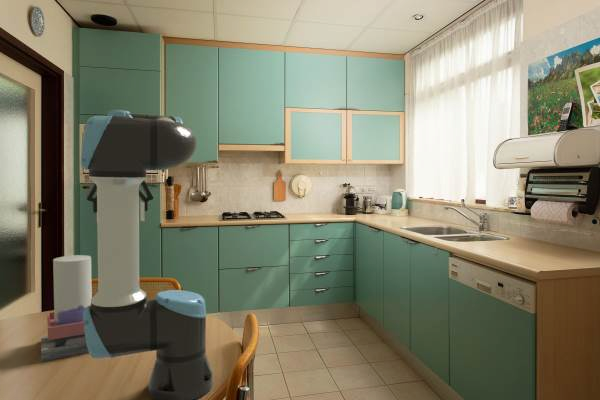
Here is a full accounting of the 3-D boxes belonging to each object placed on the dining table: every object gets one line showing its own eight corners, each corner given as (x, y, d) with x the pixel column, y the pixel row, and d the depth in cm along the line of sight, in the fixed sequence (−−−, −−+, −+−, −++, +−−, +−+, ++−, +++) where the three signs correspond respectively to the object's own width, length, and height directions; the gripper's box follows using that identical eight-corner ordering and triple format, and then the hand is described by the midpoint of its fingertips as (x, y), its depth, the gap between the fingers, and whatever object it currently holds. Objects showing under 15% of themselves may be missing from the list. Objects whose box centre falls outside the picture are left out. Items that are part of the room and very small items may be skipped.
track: (163, 338, 129) (163, 331, 129) (41, 362, 111) (41, 354, 111) (151, 322, 143) (151, 316, 143) (41, 341, 125) (41, 334, 125)
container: (83, 314, 129) (82, 253, 128) (98, 321, 123) (97, 257, 122) (49, 323, 121) (47, 257, 120) (62, 331, 115) (61, 262, 114)
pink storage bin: (107, 339, 121) (107, 318, 120) (48, 350, 112) (47, 328, 112) (101, 324, 133) (101, 305, 133) (47, 333, 125) (47, 312, 125)
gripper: (156, 160, 143) (156, 219, 144) (76, 156, 129) (77, 222, 130) (162, 159, 136) (162, 221, 137) (78, 155, 123) (79, 224, 124)
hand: (121, 221), depth 134 cm, fingers open, 13 cm apart
